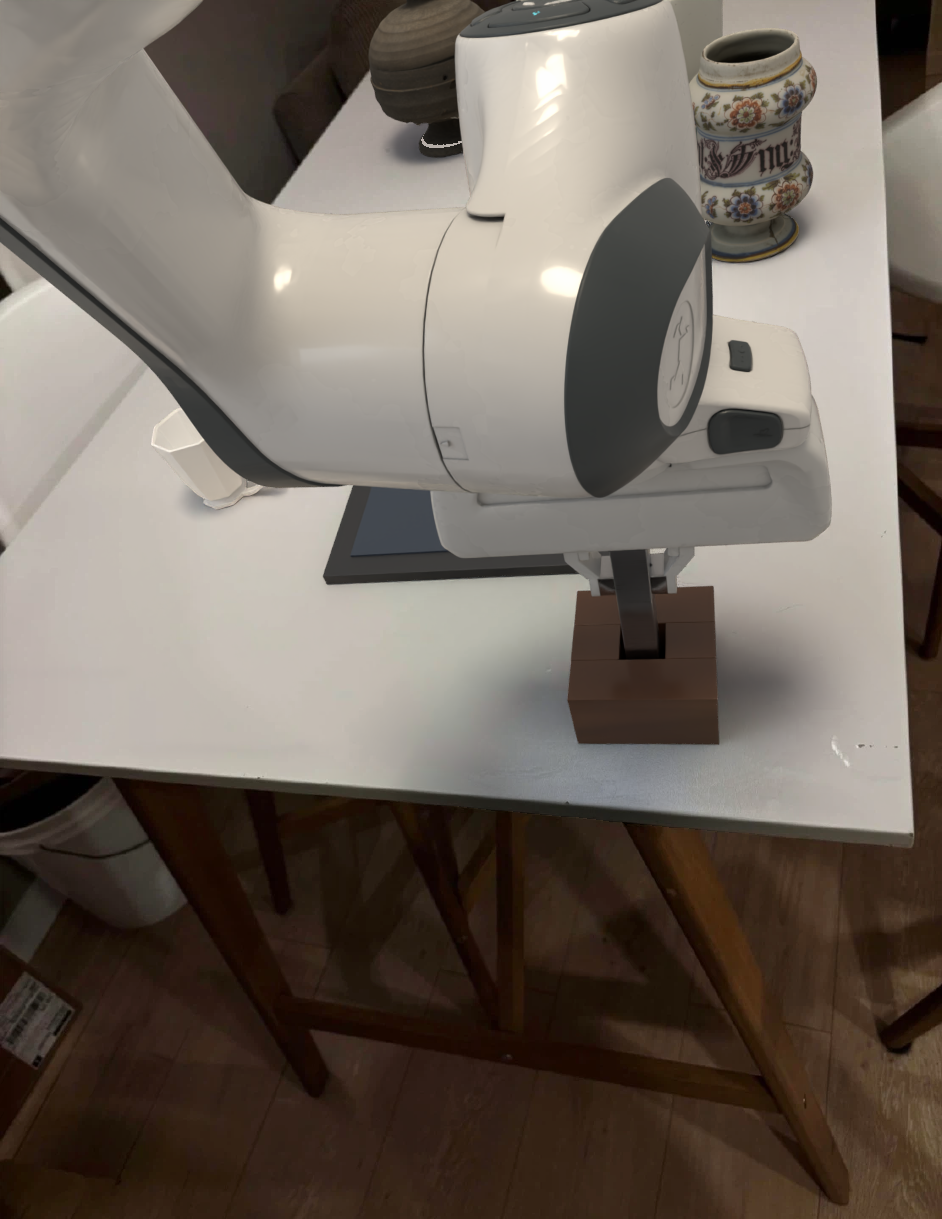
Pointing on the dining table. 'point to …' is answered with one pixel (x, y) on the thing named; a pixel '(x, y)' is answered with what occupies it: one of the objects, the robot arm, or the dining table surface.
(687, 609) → the brown block with hole
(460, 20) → the pot
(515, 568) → the drawing tablet
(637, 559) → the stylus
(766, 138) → the apothecary jar
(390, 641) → the dining table surface
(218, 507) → the cup
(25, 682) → the dining table surface
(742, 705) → the dining table surface
